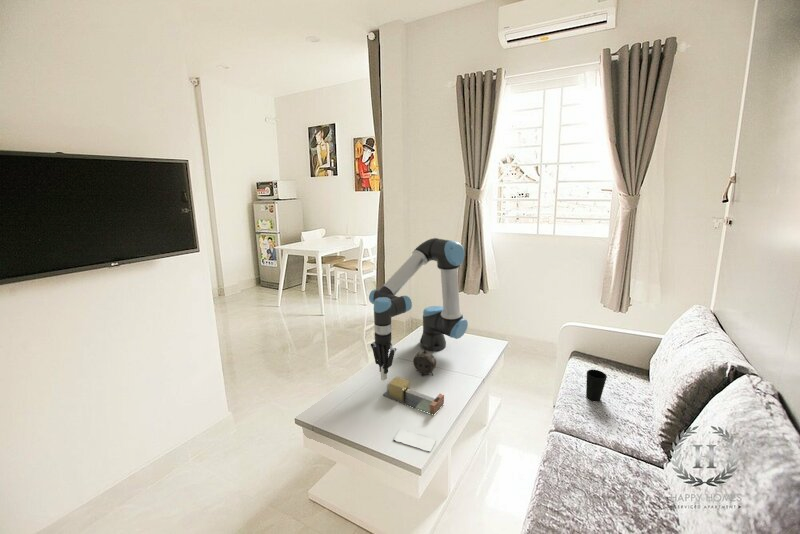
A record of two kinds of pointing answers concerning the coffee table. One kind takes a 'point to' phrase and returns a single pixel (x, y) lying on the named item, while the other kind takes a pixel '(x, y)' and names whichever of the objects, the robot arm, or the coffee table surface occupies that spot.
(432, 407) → the rail
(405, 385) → the clip
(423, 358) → the alarm clock
